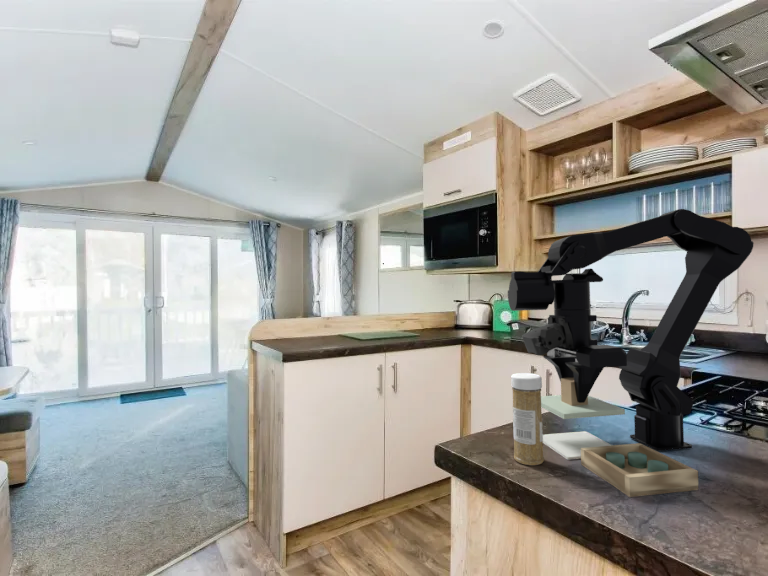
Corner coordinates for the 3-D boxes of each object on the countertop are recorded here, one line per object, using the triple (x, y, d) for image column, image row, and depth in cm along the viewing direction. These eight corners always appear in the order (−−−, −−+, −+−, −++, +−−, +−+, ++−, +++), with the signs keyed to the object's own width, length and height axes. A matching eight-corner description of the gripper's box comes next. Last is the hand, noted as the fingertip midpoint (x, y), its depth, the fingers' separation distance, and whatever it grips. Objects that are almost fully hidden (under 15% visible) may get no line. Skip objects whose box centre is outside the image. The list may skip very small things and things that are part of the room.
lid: (583, 397, 76) (582, 371, 76) (624, 414, 65) (623, 384, 66) (530, 401, 74) (529, 375, 75) (563, 419, 64) (562, 388, 64)
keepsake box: (640, 459, 63) (639, 443, 63) (698, 489, 53) (697, 470, 53) (581, 464, 62) (580, 448, 62) (629, 497, 52) (629, 477, 52)
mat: (585, 433, 75) (585, 431, 75) (625, 454, 65) (625, 452, 65) (535, 437, 74) (535, 435, 74) (567, 459, 64) (567, 457, 64)
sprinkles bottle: (550, 461, 63) (547, 375, 63) (531, 469, 61) (529, 379, 61) (525, 452, 67) (523, 370, 67) (507, 459, 65) (504, 374, 65)
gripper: (504, 308, 78) (506, 390, 78) (559, 313, 60) (562, 419, 60) (558, 306, 80) (560, 386, 80) (627, 311, 61) (631, 414, 61)
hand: (575, 399), depth 70 cm, fingers closed on lid, 3 cm apart
